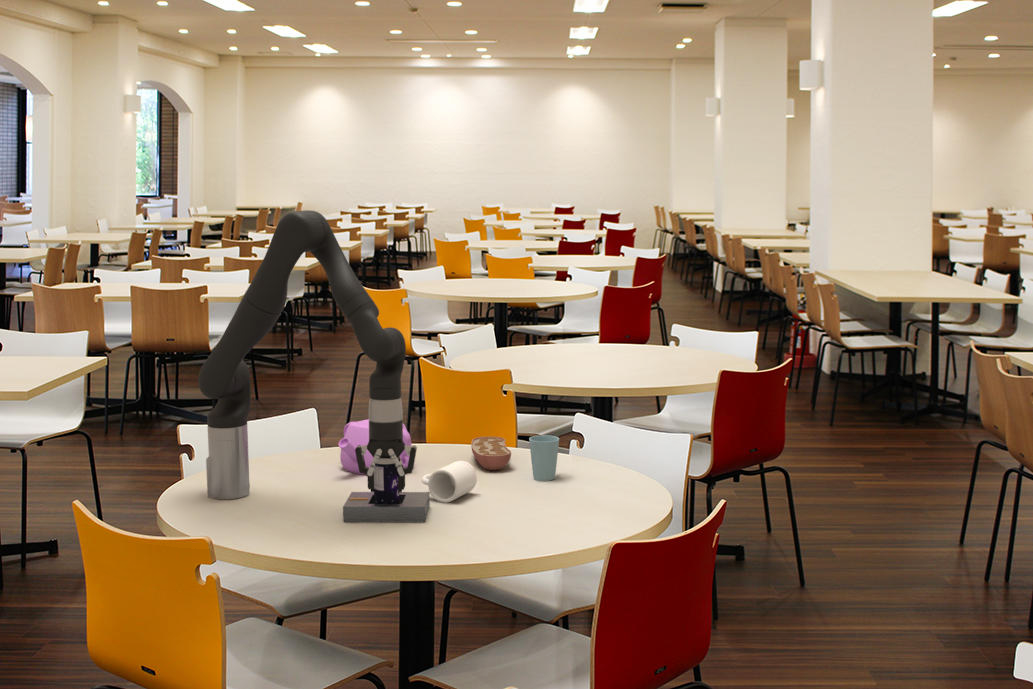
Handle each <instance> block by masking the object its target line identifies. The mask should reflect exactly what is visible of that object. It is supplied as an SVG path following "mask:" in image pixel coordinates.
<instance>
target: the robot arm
mask: <svg viewBox="0 0 1033 689" xmlns="http://www.w3.org/2000/svg"><path fill="white" fill-rule="evenodd" d="M332 229H333V228H331V225H330V224H329V222H328V221H327V219H326V217H325V216H324V215H323V214H321V213H320V212H319V211H316V210H307V209H306V210H295V211H291V212H288V213H286V214H285V215H283V216H282V218H281V219H280V220H279V222H278V224H277V225H276V227H275V230H274V233H273V236H272V238H271V240H270V243H269V245H268V248H267V250H266V253H265V256H264V257H263V260H262V262H261V263H260V265H259V267H258V268H257V270H256V272H255V274H254V276H253V278H252V280H251V282H250V283H249V286H248V287H247V289H246V290H245V293H244V295H243V296H242V298H241V300H240V302H239V304H238V306H237V308H236V310H235V312H234V313H233V316H232V317H231V319H230V321H229V323H228V324H227V327H226V328H225V331H224V332H223V335H222V336H221V338H220V340H219V341H218V343H217V344H216V346H215V347H214V348H213V350H212V351H211V353H210V354H209V356H208V357H207V359H206V360H205V361H204V363H203V365H202V366H201V368H200V370H199V374H198V378H197V379H198V380H197V382H198V387H199V390H200V392H201V393H202V395H204V397H206V398H208V399H212V400H213V399H214V400H216V399H217V403H216V405H215V406H214V407H213V408H212V409H211V411H210V412H208V414H207V416H206V417H207V422H206V424H207V443H208V444H207V446H208V447H207V448H208V449H207V450H208V457H206V459H205V463H206V466H205V467H206V468H205V469H206V487H207V488H206V489H207V491H206V493H207V498H210V499H211V498H213V499H218V500H233V499H241V498H244V497H247V496H249V495H250V493H251V492H250V488H251V487H250V461H249V460H250V459H249V458H250V457H249V436H248V435H249V434H248V433H249V431H248V417H249V414H250V411H251V396H252V395H251V393H252V392H251V390H252V389H251V387H252V386H251V384H252V383H251V382H252V381H251V378H252V377H251V374H250V369H249V366H248V365H247V363H246V361H244V360H243V359H245V357H246V355H247V354H248V353H250V351H251V350H253V348H254V347H255V346H256V345H257V344H259V342H261V340H263V339H264V338H265V337H266V336H267V335H268V334H269V333H270V332H271V330H272V329H273V327H274V326H275V325H276V323H277V321H278V319H279V317H280V316H281V314H282V312H283V310H284V308H285V306H286V303H287V299H288V286H289V278H290V275H291V274H292V271H293V270H294V268H295V266H296V264H297V262H298V261H299V259H300V258H301V257H302V255H303V254H304V253H309V252H310V253H311V254H312V256H313V257H315V259H316V260H317V261H318V262H319V264H320V265H321V267H322V268H323V271H324V272H325V275H326V277H327V280H328V284H329V287H330V291H331V294H332V297H333V299H334V301H335V303H336V305H337V306H338V309H340V311H341V313H342V314H343V315H344V317H345V319H347V322H349V324H350V325H351V327H352V330H353V332H354V335H355V337H356V339H357V341H358V344H359V347H360V348H361V350H362V352H363V353H364V354H365V356H366V357H367V358H368V359H370V360H371V361H374V362H376V364H375V370H374V371H373V372H372V373H371V374H370V376H369V380H368V381H369V384H368V386H369V390H368V392H369V394H368V396H369V401H368V402H369V403H368V419H369V443H368V444H367V445H364V446H361V445H358V446H357V447H356V449H355V453H356V458H357V463H358V468H359V472H360V473H364V474H366V475H365V476H367V489H368V490H370V492H374V467H375V463H376V461H377V460H378V459H376V458H390V459H391V458H393V461H394V462H395V464H396V467H397V471H398V473H399V476H398V492H403V491H404V489H405V487H406V475H408V474H412V473H413V470H414V468H415V462H416V457H417V456H416V455H417V451H418V450H417V449H418V446H417V445H413V444H412V446H408V445H405V443H404V442H403V424H404V422H403V421H404V420H403V417H404V412H403V402H402V381H401V379H402V373H403V370H404V365H405V364H404V363H405V361H406V360H405V359H406V352H407V351H406V350H407V349H406V348H407V347H406V340H405V337H404V335H403V333H402V331H400V330H399V329H397V328H395V327H392V326H391V327H385V328H383V327H382V325H381V323H380V321H379V320H378V317H379V315H380V310H379V308H378V306H377V304H376V303H375V301H374V300H373V298H372V297H371V296H370V294H369V293H368V292H367V290H366V289H365V287H364V286H363V284H362V283H361V281H360V280H359V279H358V277H357V275H356V273H355V271H354V270H353V268H352V266H351V265H350V264H349V261H348V259H347V257H346V256H345V253H344V251H343V249H342V247H341V246H340V243H339V242H338V239H337V238H336V236H335V233H334V231H333V230H332ZM366 450H368V451H369V452H370V454H371V455H372V456H373V460H372V463H371V465H370V467H369V468H368V467H366V465H365V460H364V455H365V453H366ZM404 450H406V452H407V455H408V456H409V462H408V467H406V468H404V466H403V464H402V460H401V458H400V455H401V453H402V452H403V451H404ZM394 458H395V459H394ZM364 474H363V475H364Z"/></svg>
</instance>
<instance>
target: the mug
mask: <svg viewBox="0 0 1033 689" xmlns="http://www.w3.org/2000/svg"><path fill="white" fill-rule="evenodd" d="M477 481H478V478H477V473H476V470H475V468H474V467H473V466H472V464H470V463H469V462H467V461H464V460H456V461H454V462H452V463H450V464H447V465H445V466H443V467H441V468H439V469H436V470H435V471H434V472H432V473H427V474H424V475H423V476H422V478H421V483H422V484H424V485H426V486H428V492H430V495H431V496H432V497H433V499H435V500H436V501H438V502H440V503H443V504H445V503H446V504H448V503H450V502H453V501H454V500H456V499H459V498H460V497H462V496H463V495H466V494H468V493H470V492H472V490H474V488H475V487H476V485H477Z"/></svg>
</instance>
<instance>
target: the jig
mask: <svg viewBox="0 0 1033 689" xmlns="http://www.w3.org/2000/svg"><path fill="white" fill-rule="evenodd" d="M430 495H431V493H430V491H402V492H399V504H374V492H371V491H351V492H350V494H349V496H348V498H347V499H346V501H345V503H344V504H343V506H342V519H343V520H342V522H343V523H426V521H427V520H426V519H427V516H428V513H429V510H430V505H431V504H430V500H431V499H430Z"/></svg>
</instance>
